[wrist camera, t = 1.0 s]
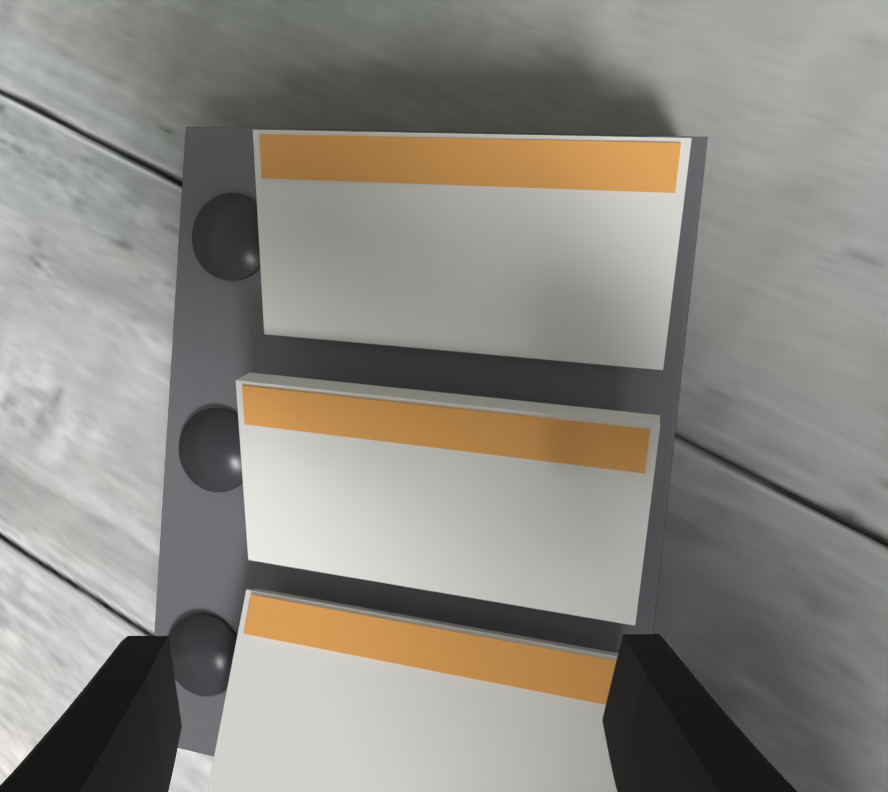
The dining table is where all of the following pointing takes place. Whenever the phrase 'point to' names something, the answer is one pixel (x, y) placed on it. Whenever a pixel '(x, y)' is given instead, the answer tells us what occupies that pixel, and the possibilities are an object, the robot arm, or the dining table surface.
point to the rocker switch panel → (251, 351)
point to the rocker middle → (449, 492)
